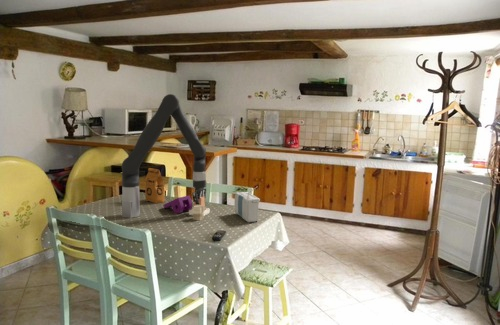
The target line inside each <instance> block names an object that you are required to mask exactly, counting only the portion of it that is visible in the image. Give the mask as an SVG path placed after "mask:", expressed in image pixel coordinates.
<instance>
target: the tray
mask: <svg viewBox="0 0 500 325" xmlns="http://www.w3.org/2000/svg"><path fill="white" fill-rule="evenodd" d="M210 210H211V209H210V208H209V207H205V209H204V217H205V216H206V215H208V214H210ZM188 215H189V216H193V208H192V209H191V210H189V211H188Z"/></svg>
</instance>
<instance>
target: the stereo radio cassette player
mask: <svg viewBox="0 0 500 325" xmlns="http://www.w3.org/2000/svg"><path fill="white" fill-rule="evenodd" d="M256 188H258V185H257V186H256V187H254V188H253V189H251V191H250V192H248V191H240V192H238V191H237V192H234V213H236V214H237V216H239V217H240V218H242V219H243V220H244V221H246V222H247V223H253V222H254V223H255V222H256V221H257V222H258V221H259V205H260V204H259V203H260V201H261V199H260V198H259V197H258V196H256V195H255V194H252V192H253V191H254V190H255V189H256Z"/></svg>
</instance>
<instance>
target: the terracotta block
mask: <svg viewBox="0 0 500 325" xmlns="http://www.w3.org/2000/svg"><path fill="white" fill-rule="evenodd" d="M197 197H198V196H197ZM205 201H206V196H205V197H202V196H201V198H200V201H199V205H204V209H205V208H206V204H205V203H206V202H205ZM193 203H194V206H195V205H196V202H193Z"/></svg>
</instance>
